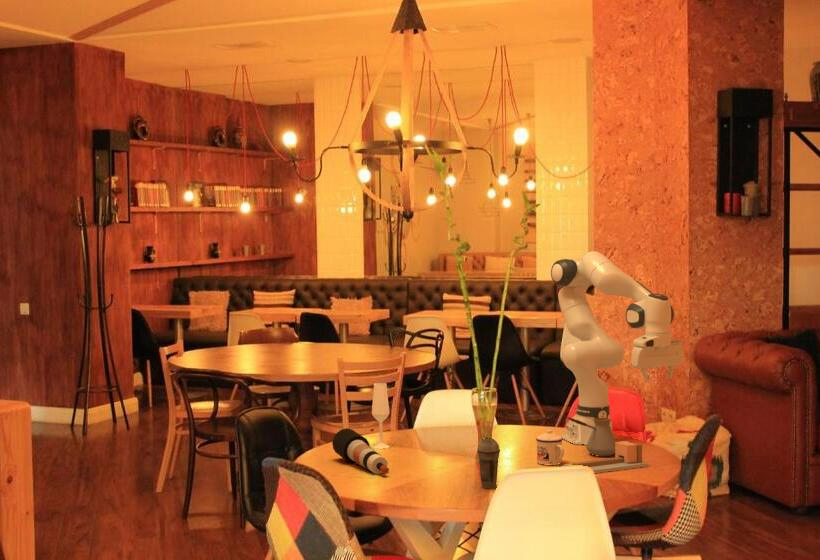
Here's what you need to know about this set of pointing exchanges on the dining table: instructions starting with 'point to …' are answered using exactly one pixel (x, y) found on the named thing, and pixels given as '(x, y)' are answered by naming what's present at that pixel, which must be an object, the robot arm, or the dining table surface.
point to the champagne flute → (380, 409)
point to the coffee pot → (599, 437)
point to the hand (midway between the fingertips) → (657, 379)
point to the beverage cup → (488, 461)
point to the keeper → (626, 451)
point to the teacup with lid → (549, 448)
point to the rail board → (613, 463)
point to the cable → (358, 451)
